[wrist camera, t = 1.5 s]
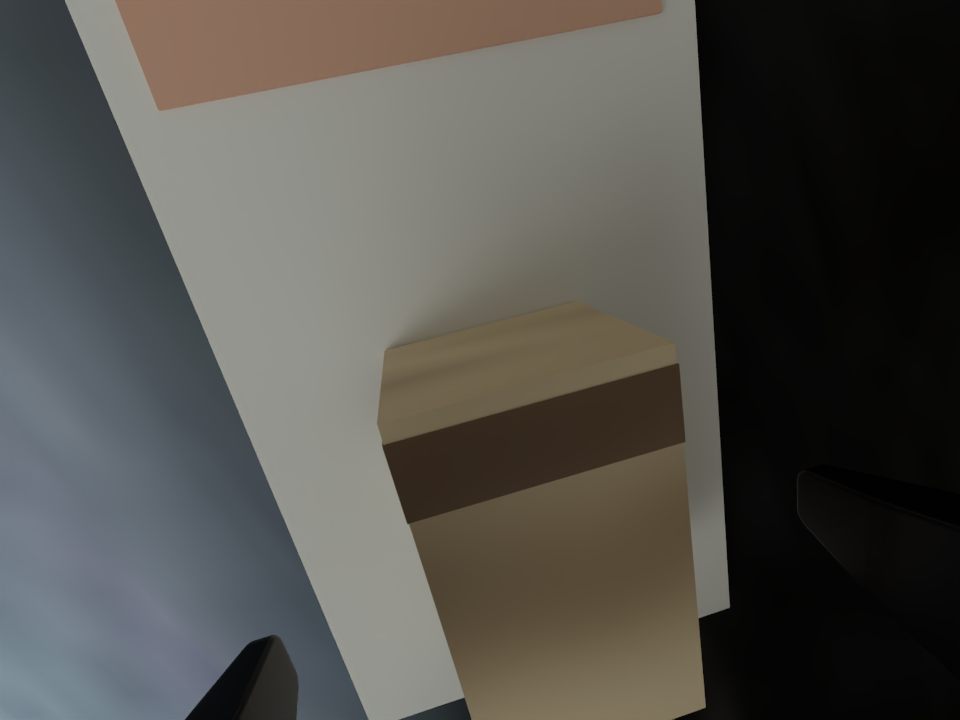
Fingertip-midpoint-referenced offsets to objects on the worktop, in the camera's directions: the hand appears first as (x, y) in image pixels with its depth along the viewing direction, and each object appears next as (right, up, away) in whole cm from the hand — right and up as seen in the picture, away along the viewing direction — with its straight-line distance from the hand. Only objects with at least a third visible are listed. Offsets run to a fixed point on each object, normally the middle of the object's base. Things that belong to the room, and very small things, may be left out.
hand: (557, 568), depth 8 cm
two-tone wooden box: (0, +1, +3) cm, 3 cm away
